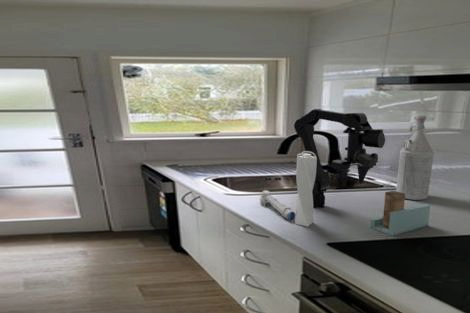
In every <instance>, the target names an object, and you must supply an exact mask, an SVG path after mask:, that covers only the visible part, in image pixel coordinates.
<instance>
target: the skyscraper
mask: <svg viewBox="0 0 470 313" xmlns="http://www.w3.org/2000/svg"><path fill="white" fill-rule="evenodd" d="M306 152H308V153H312V154H313V155H314V156H315V157H313V156H311V154H308V153H306ZM316 165H317V157H316V155H315V154H314V153H313V152H310V151H305V150H304V151H301V153H298V154H296V174H295V175H296V178H295V179H296V180H295V181H296V189H297V199H296V208H295V214H296V217H295V219H294V224H295V225H300V226H304V227H309V226H310V225H311V224H312V223H314V207H313V194H312V190H313V186H314V182H315V176H316Z"/></svg>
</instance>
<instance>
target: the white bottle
mask: <svg viewBox="0 0 470 313" xmlns="http://www.w3.org/2000/svg"><path fill="white" fill-rule="evenodd" d="M426 119H427V115H426V114H425V115H424V114H419V113H418V114H417V113H416V114H415V116H414V118H413V120H412V122H413V123H411V125H409V126H410V127H409V131H410V132H412V131H413V128H415V132H414V133H413V134H412V135H411V137H410V138H409V139H404V142H403V145H402V148H401V149H400V150H399V158H398V159H399V161H398V170H397V179H396V190H395V191H397V192H401V193H404V194H405V199H407V200H413V201H415V200H416V201H418V200H419V201H420V200H421V201H422V200H426V199H428V198H429V190H430V183H431V176H432V168H433V162H434V155H435V152H434V150H433V149H432V147H431V145H430V143H429V141H428V139H427V137H426V135H425V133H424V131H425V130H426V126H425V122H426V121H425V120H426ZM414 120H416V121H415V122H414ZM414 123H415V124H416V125H415V126H413V124H414Z"/></svg>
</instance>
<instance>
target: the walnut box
mask: <svg viewBox="0 0 470 313" xmlns="http://www.w3.org/2000/svg"><path fill="white" fill-rule="evenodd" d="M384 193H385V194H384V205H383V227H384V228H387V229H389V221H390V212H393V211H397V210H402V209H405V199H406V198H405V194H404V193H401V192H397V191H396V190H390V191H385V192H384Z"/></svg>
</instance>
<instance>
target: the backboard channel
mask: <svg viewBox="0 0 470 313" xmlns="http://www.w3.org/2000/svg"><path fill="white" fill-rule="evenodd" d="M430 210H431V204H428V203H424V204H420V205H419V204H418V205H416V206H412V207H407V208H404V209H402V210H397V211H393V212H390V221H389V229H387V228H384V227H383V216H380V217H379V216H378V217H374V218H371V219H370V228H372V229H374V230H377V231H379V232H382V233H385V234H386V235H390V236H397V235H400V234H404V233H407V231H408V232H410V231H411V230H412V231H415V230H419V229H422V228H426V227H428V226H429V220H430ZM418 228H419V229H418Z"/></svg>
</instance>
